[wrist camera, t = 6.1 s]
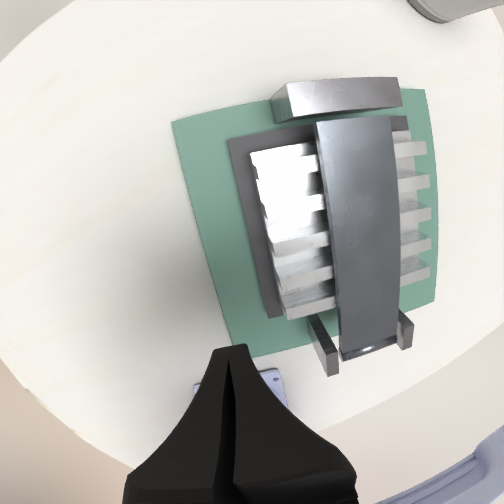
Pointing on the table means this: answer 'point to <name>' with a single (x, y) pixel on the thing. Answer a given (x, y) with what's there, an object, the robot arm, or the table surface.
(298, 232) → the heat sink
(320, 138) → the flat metal bar
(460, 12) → the travel mug
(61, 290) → the table surface
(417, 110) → the circuit board
